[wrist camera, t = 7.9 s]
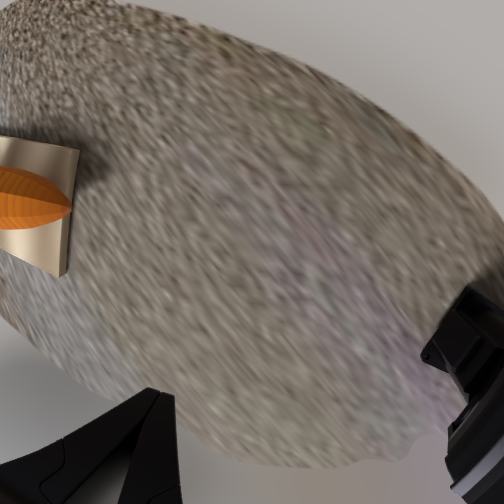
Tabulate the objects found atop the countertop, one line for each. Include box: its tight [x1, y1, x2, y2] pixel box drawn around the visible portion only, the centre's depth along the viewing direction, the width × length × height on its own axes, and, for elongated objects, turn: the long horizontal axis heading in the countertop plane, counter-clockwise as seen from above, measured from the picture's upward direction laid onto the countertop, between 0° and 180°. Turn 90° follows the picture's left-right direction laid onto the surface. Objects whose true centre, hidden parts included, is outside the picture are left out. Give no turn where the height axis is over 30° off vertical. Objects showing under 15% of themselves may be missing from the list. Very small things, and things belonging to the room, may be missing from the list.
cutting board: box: [0, 135, 80, 277], centre depth 21 cm, size 15×10×1 cm, turn 74°
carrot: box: [0, 166, 73, 230], centre depth 18 cm, size 5×5×15 cm
